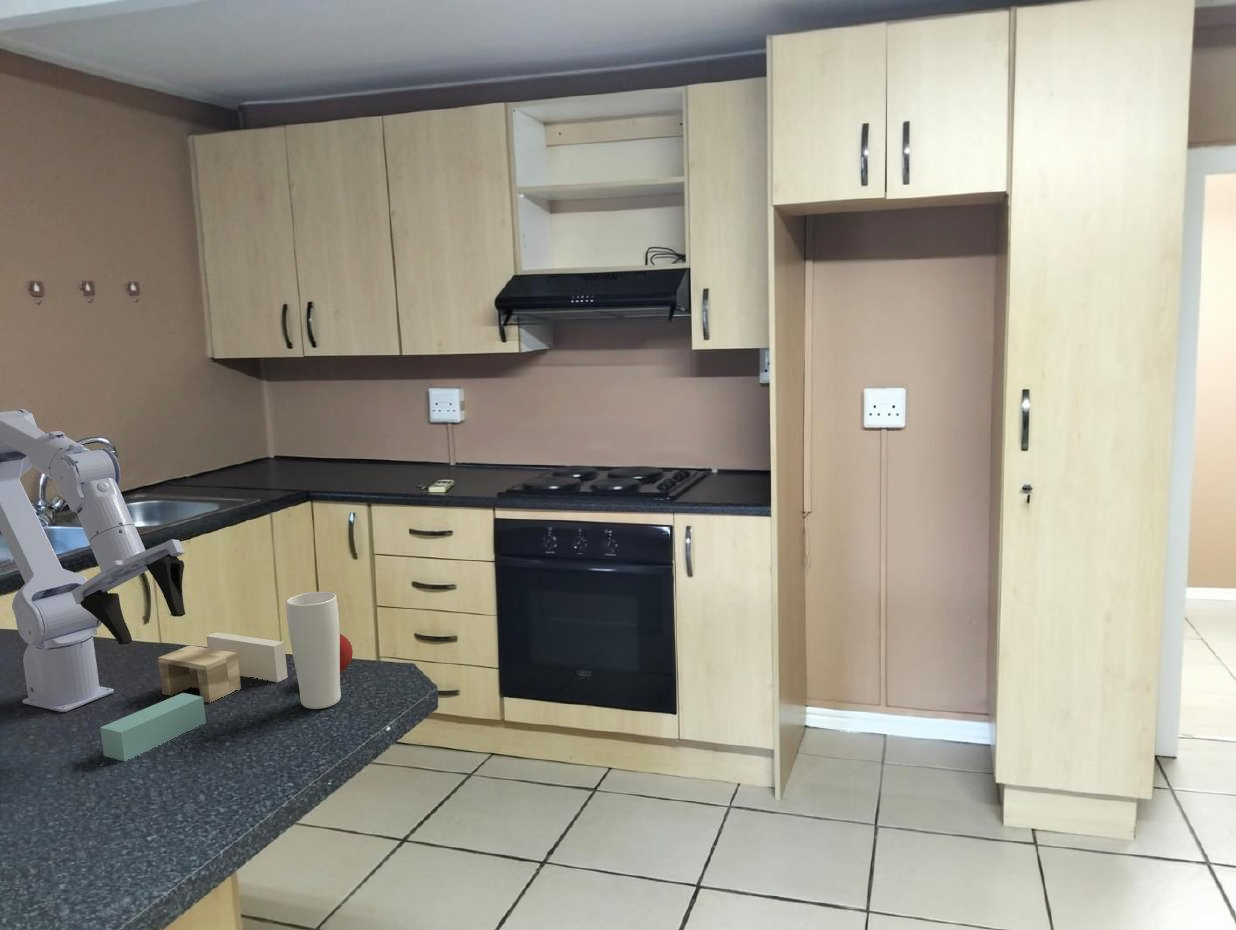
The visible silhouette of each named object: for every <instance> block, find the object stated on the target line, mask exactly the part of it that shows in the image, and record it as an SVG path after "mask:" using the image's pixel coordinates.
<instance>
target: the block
mask: <svg viewBox="0 0 1236 930" xmlns="http://www.w3.org/2000/svg"><path fill="white" fill-rule="evenodd" d="M157 662H158V670H159V677H160V678H159V679H160V685H161V693H162V695H166V696H171V697H173V696H174V695H178V693H179V694H180V693H182V692H184V691H186V690H189V689H191V688H195V689H198V690H199V696H201V697H203V700H204V703H206V702H209V703H208V704H212V703H214V702H216V701H215V700H217V699H219V698H221V697H223V698H225V697H227V696H226V695H228V694H230V693H232V692H234V691H235V690H238V691H240V689H241V690H242V684H241V683H242V682H241V676H240V674H239V665H238V656H237V653H235V652H228V651H222V650H216V649H209V648H208V647H204V646H203V647H201V646H197V645H188V646H184V647H182V648H179V649H177V650H173V651H171V652H169V653H166V654H163V655H161V656H158V657H157ZM190 687H191V688H190ZM183 690H184V691H183ZM234 693H235V692H234ZM232 694H233V693H232ZM230 695H231V694H230ZM224 696H225V697H224ZM228 696H229V695H228ZM221 699H222V698H221ZM219 700H220V699H219ZM213 701H214V702H213ZM217 701H218V700H217ZM211 702H212V703H211Z"/></svg>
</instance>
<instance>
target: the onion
mask: <svg viewBox="0 0 1236 930" xmlns="http://www.w3.org/2000/svg"><path fill="white" fill-rule="evenodd" d="M353 652H354V651H353V646H352V644H351V641H350V640H349V639H348V638H347V637H346V636H344V635H343V634H341V633H340V675H341V674H342V673H343V672H345V670H347V668H349V666H350V665H351V662H352V660H353V654H354V653H353Z"/></svg>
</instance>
